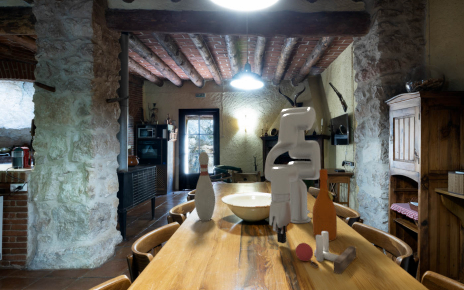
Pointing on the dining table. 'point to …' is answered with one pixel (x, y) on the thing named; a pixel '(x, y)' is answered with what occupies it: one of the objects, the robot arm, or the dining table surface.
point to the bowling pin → (204, 191)
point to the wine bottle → (324, 210)
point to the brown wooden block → (344, 259)
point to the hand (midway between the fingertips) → (281, 242)
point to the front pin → (328, 255)
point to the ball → (304, 252)
